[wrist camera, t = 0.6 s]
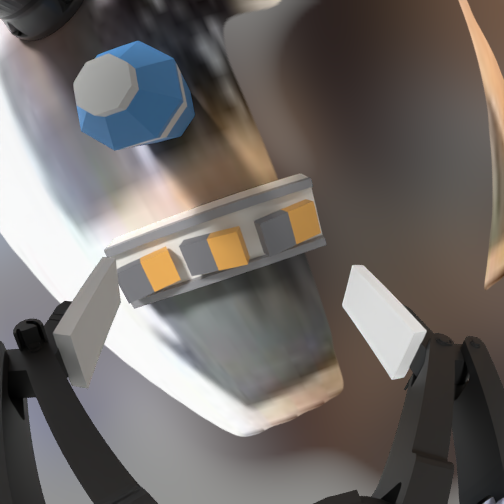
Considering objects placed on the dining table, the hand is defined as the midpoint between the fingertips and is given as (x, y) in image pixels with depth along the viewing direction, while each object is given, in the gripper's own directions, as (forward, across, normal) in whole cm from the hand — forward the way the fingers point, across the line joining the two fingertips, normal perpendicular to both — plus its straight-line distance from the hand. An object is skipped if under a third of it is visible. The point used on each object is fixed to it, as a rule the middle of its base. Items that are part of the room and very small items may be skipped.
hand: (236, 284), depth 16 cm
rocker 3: (+23, +9, -4) cm, 25 cm away
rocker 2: (+23, 0, -8) cm, 24 cm away
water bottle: (+30, -9, +10) cm, 33 cm away
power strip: (+29, 0, -8) cm, 30 cm away
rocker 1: (+23, -10, -11) cm, 27 cm away
